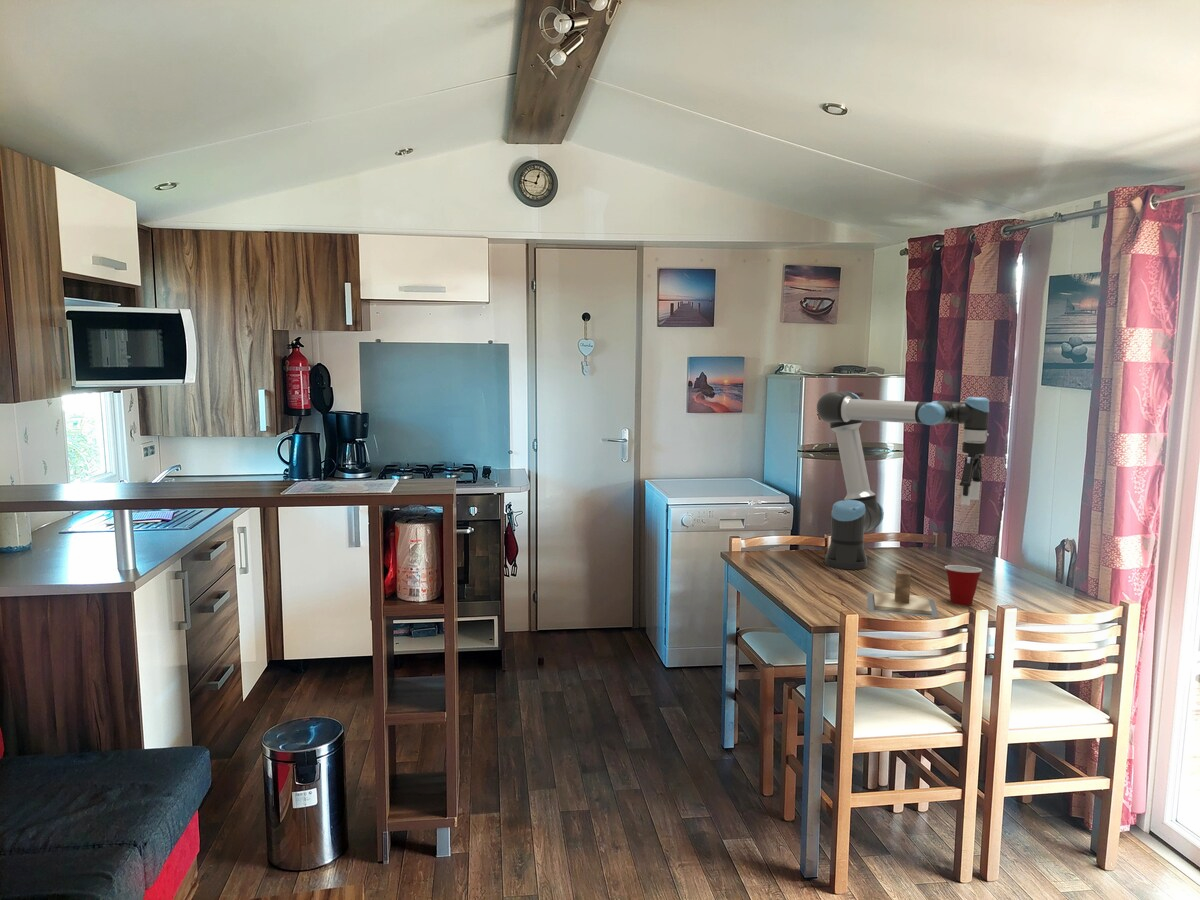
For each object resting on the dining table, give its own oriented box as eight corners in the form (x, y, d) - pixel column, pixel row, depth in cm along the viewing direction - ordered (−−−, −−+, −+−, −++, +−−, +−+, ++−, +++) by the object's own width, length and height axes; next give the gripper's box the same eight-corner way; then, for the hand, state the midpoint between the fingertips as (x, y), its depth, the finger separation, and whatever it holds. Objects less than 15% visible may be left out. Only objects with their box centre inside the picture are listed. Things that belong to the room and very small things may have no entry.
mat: (867, 613, 248) (867, 610, 248) (866, 595, 267) (867, 593, 267) (939, 620, 242) (939, 617, 242) (933, 601, 261) (933, 599, 261)
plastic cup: (972, 600, 264) (975, 563, 263) (985, 610, 253) (987, 571, 252) (937, 598, 265) (939, 561, 264) (948, 608, 254) (950, 570, 253)
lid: (874, 609, 249) (876, 576, 248) (873, 595, 265) (875, 564, 263) (931, 615, 245) (933, 581, 244) (927, 600, 260) (929, 568, 259)
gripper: (977, 445, 275) (972, 508, 277) (994, 440, 295) (989, 499, 297) (954, 443, 279) (949, 505, 282) (971, 438, 299) (967, 496, 302)
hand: (969, 502), depth 289 cm, fingers open, 13 cm apart
